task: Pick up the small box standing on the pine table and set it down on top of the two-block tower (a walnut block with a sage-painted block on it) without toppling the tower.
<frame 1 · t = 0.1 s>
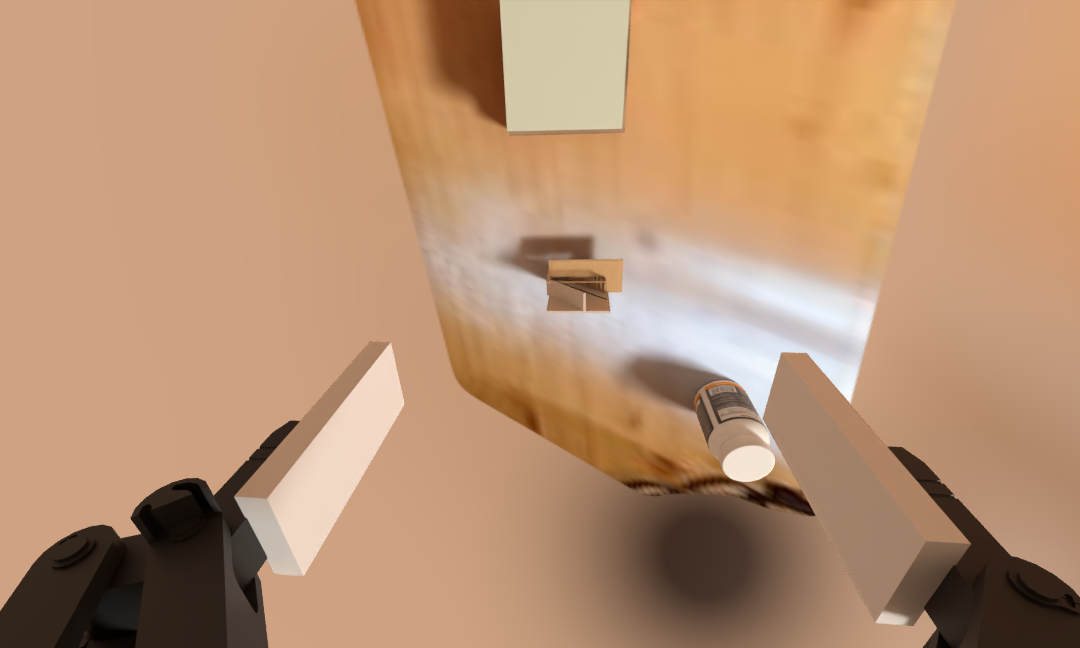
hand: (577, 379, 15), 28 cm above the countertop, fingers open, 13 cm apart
architectural model: (578, 270, 43), on the countertop
pill bottle: (718, 396, 48), on the countertop
tower top: (566, 66, 31), point 4 cm above the countertop, touching tower base
tower base: (567, 70, 35), on the countertop, touching tower top
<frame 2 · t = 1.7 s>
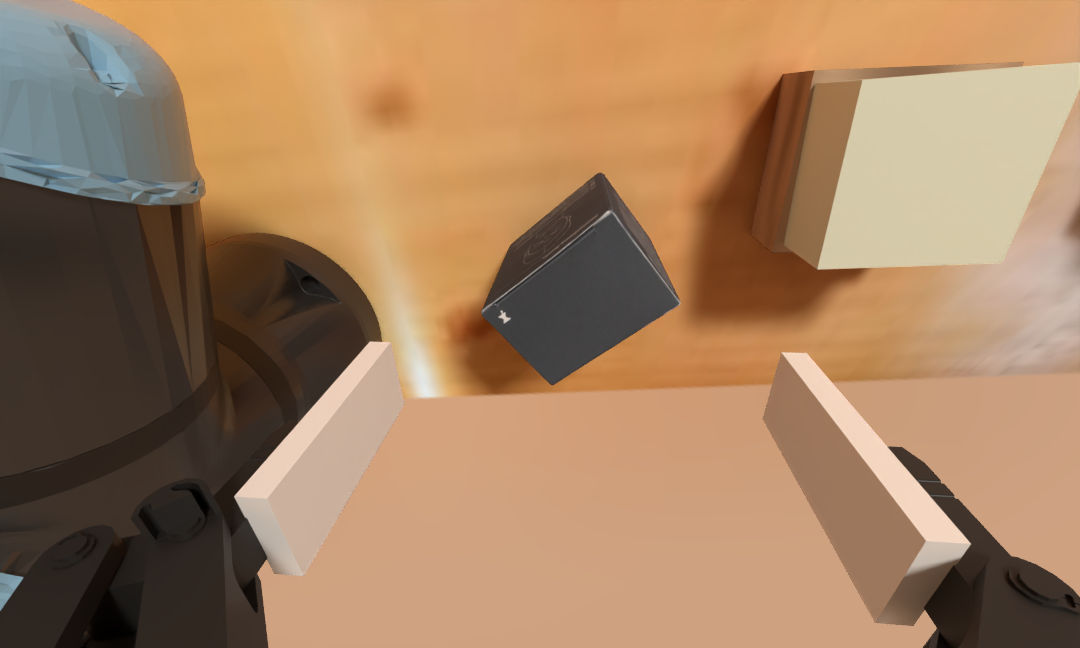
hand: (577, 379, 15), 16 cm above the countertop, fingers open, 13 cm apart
box: (579, 240, 29), on the countertop
tower top: (880, 165, 22), point 4 cm above the countertop, touching tower base
tower base: (842, 158, 25), on the countertop, touching tower top
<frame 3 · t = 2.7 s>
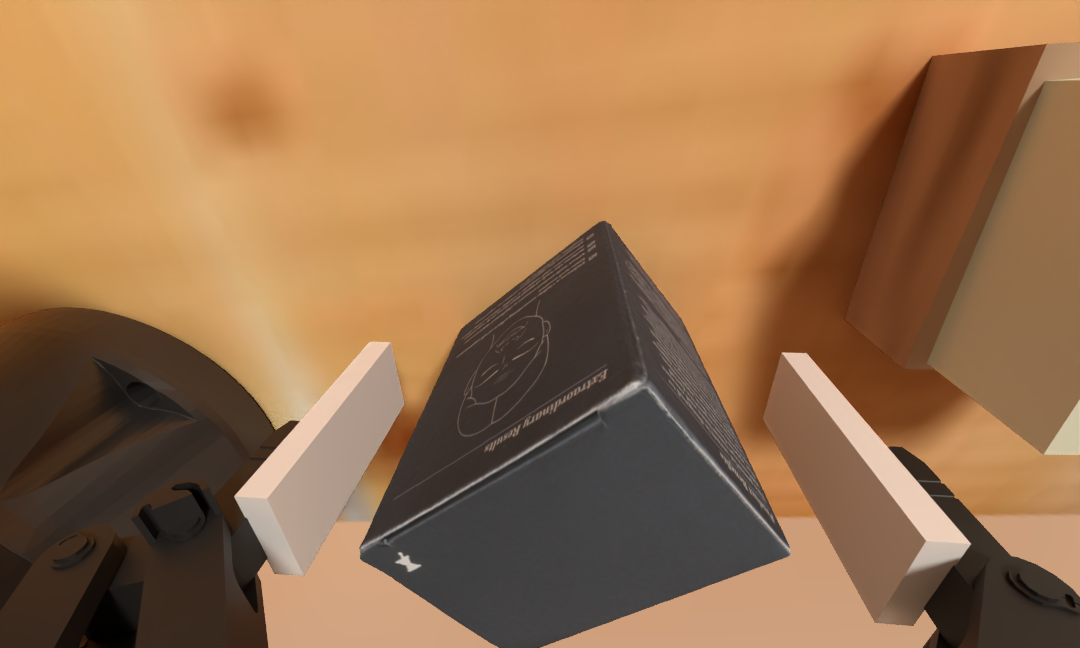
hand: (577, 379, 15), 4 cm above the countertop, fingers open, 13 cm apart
box: (569, 320, 18), on the countertop
tower base: (1011, 200, 15), on the countertop, touching tower top
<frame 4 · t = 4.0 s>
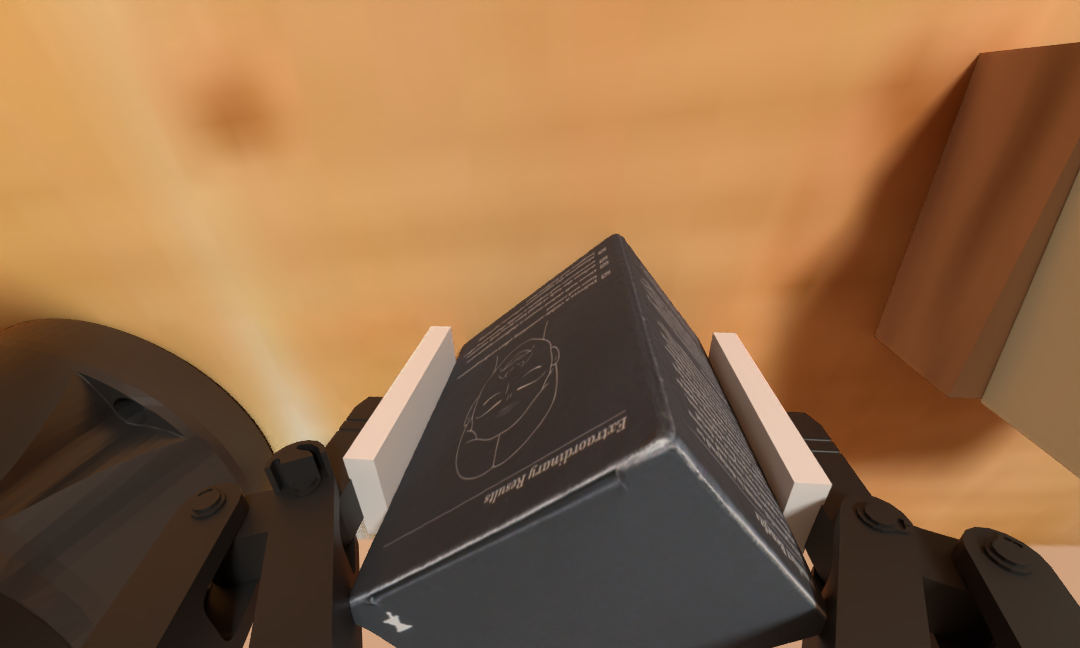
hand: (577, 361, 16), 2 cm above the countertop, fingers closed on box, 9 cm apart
box: (578, 337, 17), on the countertop, touching gripper
tower base: (1064, 211, 14), on the countertop, touching tower top
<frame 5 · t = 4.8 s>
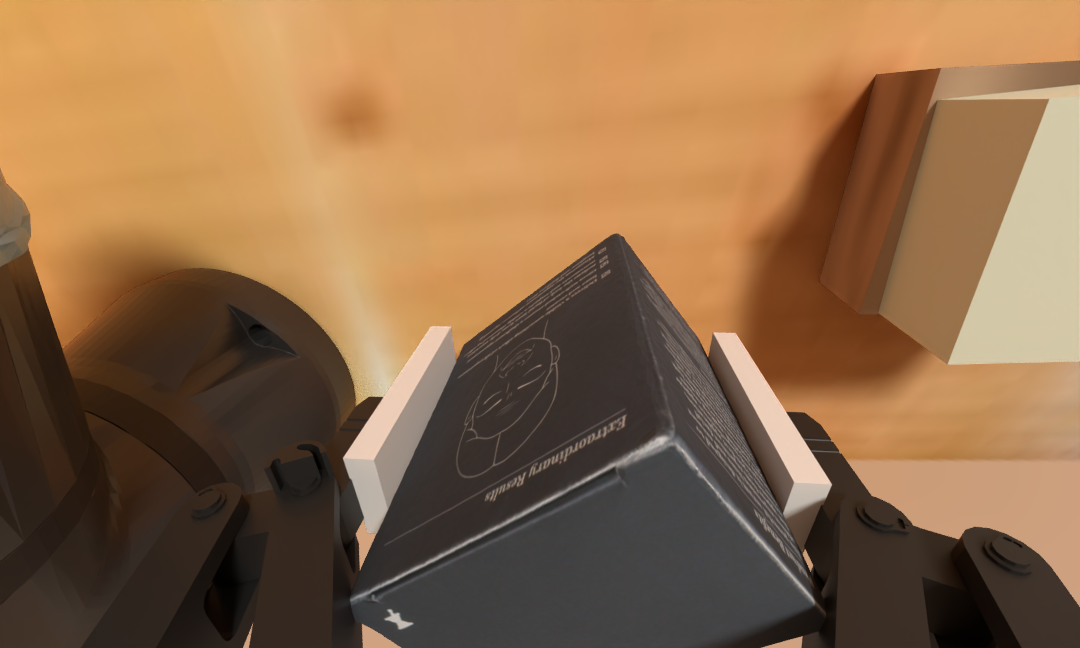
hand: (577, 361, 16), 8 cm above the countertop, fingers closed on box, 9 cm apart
box: (578, 337, 17), point 6 cm above the countertop, touching gripper
tower top: (1026, 209, 16), point 4 cm above the countertop, touching tower base
tower base: (949, 185, 19), on the countertop, touching tower top
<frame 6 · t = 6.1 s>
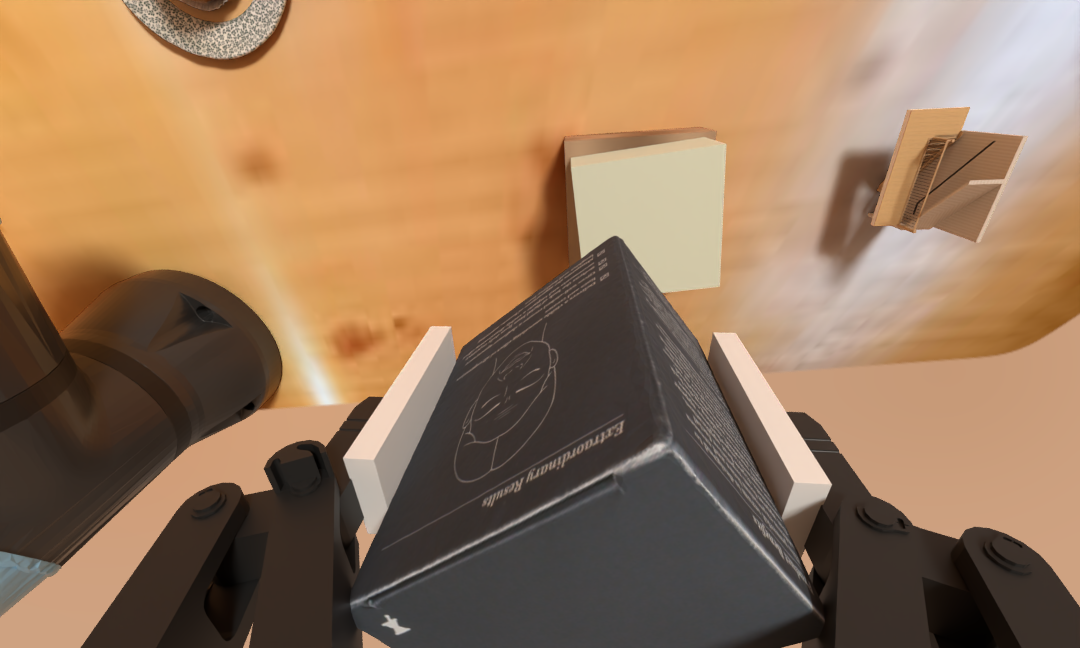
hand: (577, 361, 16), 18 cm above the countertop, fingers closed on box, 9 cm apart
box: (577, 339, 17), point 17 cm above the countertop, touching gripper
architectural model: (887, 172, 29), on the countertop
tower top: (639, 213, 28), point 4 cm above the countertop
tower base: (628, 198, 31), on the countertop
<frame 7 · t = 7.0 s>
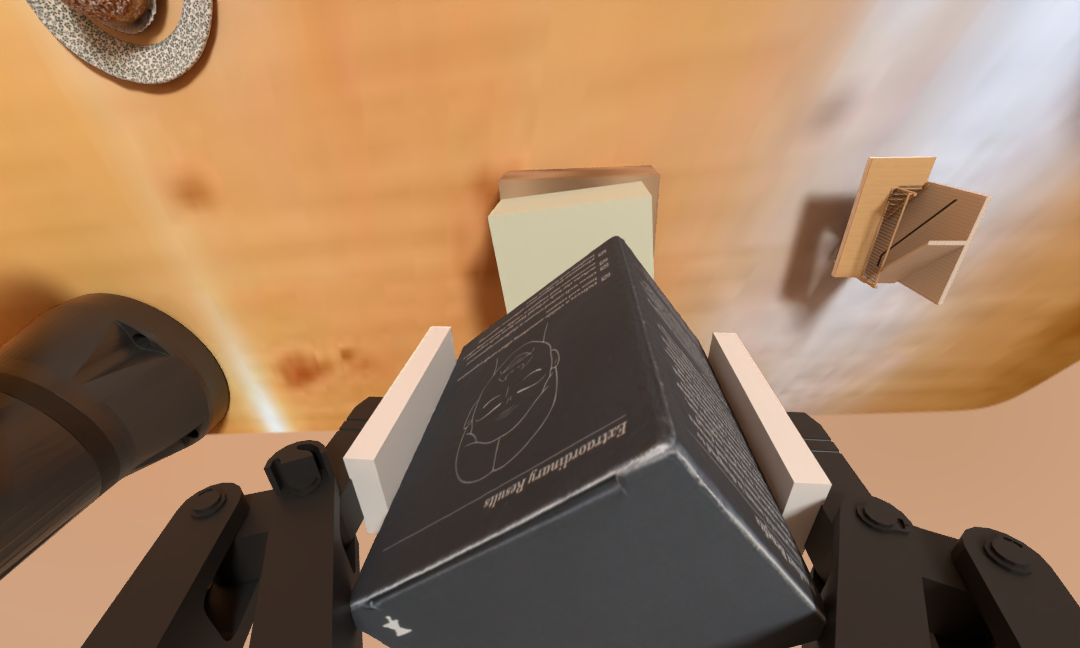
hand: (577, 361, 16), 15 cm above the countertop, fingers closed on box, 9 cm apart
box: (578, 339, 17), point 13 cm above the countertop, touching gripper
architectural model: (855, 216, 28), on the countertop
tower top: (577, 257, 26), point 4 cm above the countertop, touching tower base
tower base: (578, 236, 29), on the countertop, touching tower top
when the fingers open (11 cm above the countertop, at t = 8.5 s): box drops 2 cm, point 7 cm above the countertop.
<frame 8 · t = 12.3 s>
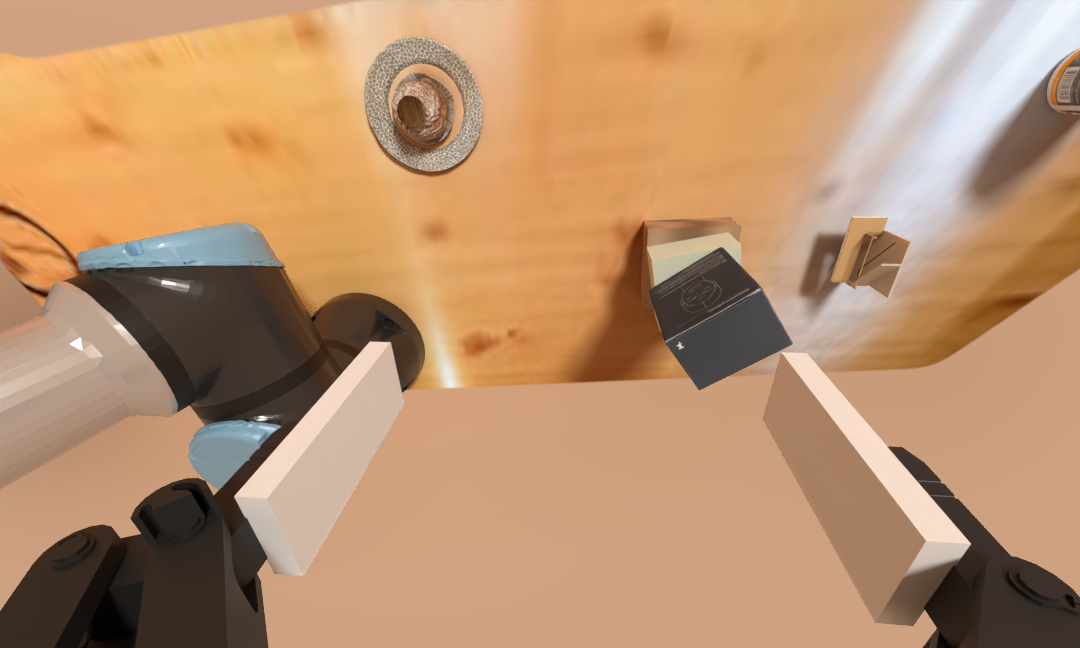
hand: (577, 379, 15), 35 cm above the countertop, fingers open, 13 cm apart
box: (697, 289, 41), point 7 cm above the countertop
architectural model: (845, 246, 46), on the countertop
pill bottle: (1079, 77, 37), on the countertop
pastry: (427, 108, 44), on the countertop
tower top: (689, 275, 45), point 4 cm above the countertop, touching tower base
tower base: (682, 258, 48), on the countertop, touching tower top
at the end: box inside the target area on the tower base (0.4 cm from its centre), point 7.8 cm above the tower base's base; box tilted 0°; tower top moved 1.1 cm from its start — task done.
